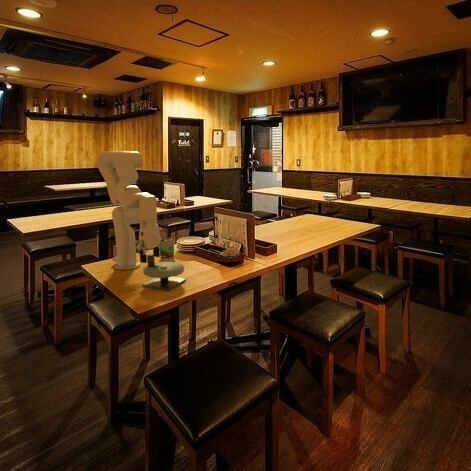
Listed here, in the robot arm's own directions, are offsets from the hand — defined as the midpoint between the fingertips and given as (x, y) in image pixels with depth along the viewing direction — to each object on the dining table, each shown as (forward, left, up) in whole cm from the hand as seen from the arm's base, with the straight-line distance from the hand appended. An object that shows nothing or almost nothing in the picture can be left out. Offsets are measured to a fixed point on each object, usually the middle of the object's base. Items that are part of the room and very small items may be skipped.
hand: (150, 259), depth 167 cm
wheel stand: (+7, 0, -10) cm, 13 cm away
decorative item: (+20, +42, -11) cm, 48 cm away
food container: (-15, +37, -11) cm, 41 cm away
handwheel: (+7, 0, -4) cm, 9 cm away
